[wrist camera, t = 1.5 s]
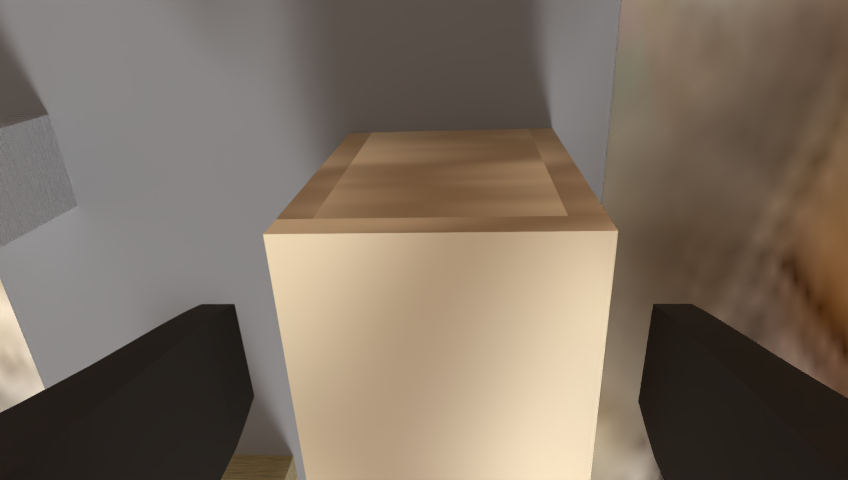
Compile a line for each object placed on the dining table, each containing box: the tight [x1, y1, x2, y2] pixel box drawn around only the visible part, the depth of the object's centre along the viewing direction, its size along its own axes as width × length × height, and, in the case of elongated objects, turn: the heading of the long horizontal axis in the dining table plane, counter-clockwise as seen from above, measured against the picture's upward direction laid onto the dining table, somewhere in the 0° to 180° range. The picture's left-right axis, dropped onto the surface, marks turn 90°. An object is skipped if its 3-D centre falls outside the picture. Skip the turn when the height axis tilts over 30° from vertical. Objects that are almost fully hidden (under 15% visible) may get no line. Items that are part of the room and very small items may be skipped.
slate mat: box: [0, 0, 621, 480], centre depth 17 cm, size 18×21×1 cm
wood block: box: [263, 128, 618, 480], centre depth 12 cm, size 5×5×7 cm
